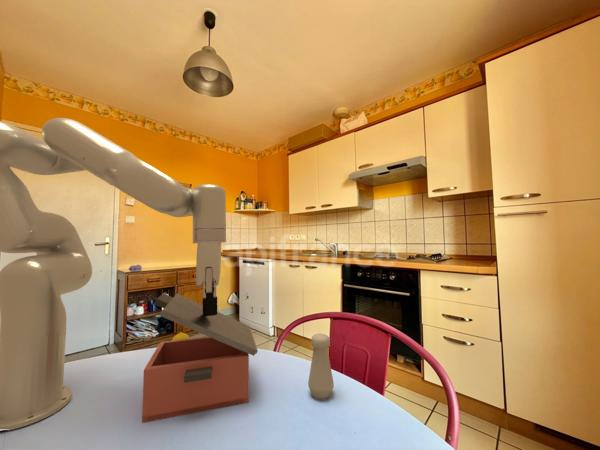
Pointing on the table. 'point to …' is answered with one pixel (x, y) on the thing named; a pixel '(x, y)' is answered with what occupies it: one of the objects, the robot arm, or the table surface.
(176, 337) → the lemon
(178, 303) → the grey box lid
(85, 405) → the table surface
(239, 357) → the orange wooden open box
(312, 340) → the salt shaker
